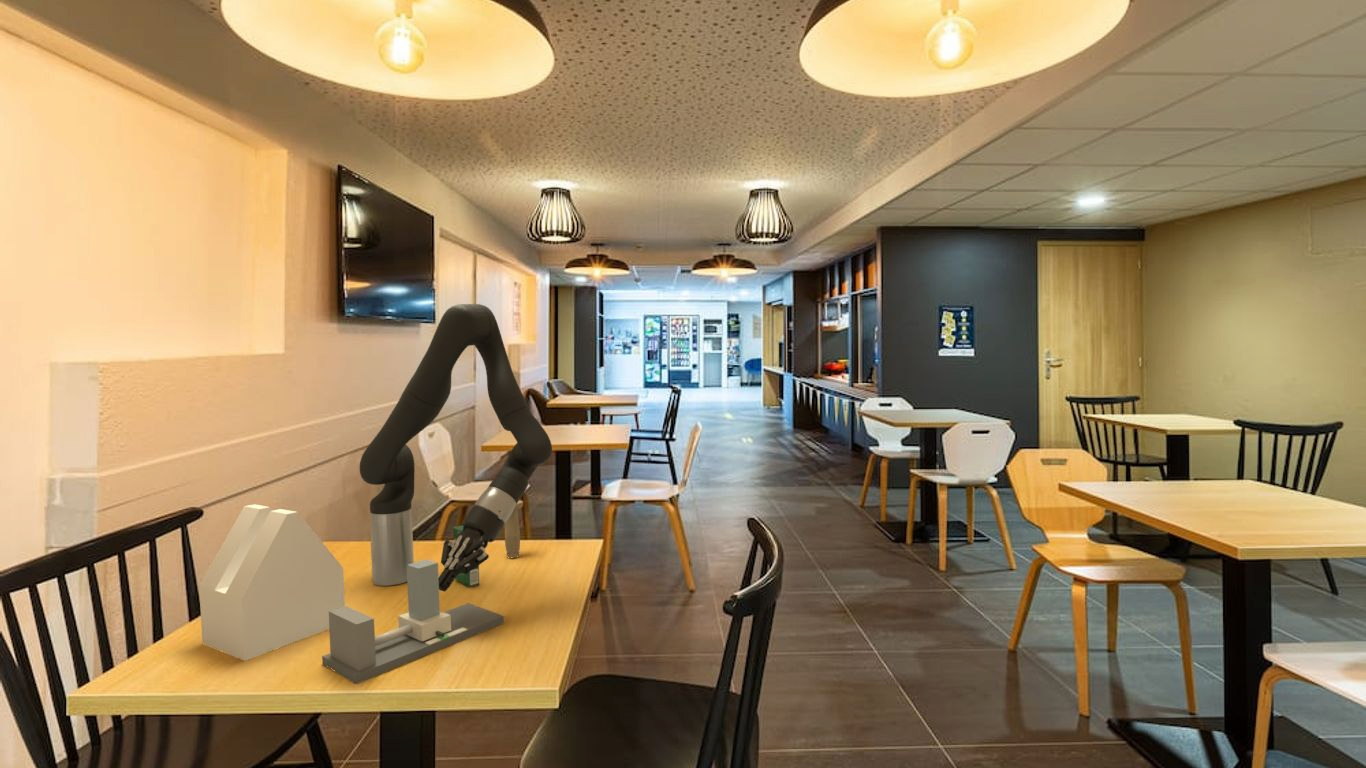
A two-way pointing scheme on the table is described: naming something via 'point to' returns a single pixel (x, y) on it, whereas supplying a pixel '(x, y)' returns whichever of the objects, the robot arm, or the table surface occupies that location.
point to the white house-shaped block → (268, 584)
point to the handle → (513, 532)
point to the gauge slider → (421, 606)
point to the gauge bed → (393, 641)
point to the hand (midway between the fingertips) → (439, 588)
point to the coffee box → (473, 575)
